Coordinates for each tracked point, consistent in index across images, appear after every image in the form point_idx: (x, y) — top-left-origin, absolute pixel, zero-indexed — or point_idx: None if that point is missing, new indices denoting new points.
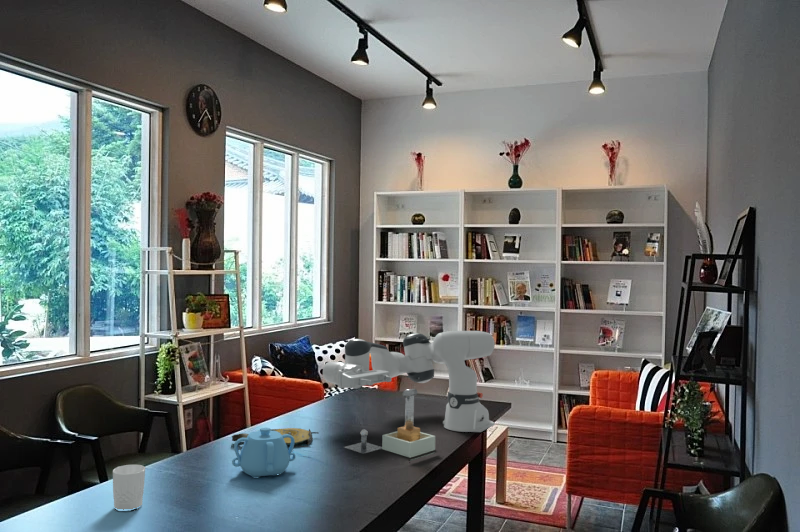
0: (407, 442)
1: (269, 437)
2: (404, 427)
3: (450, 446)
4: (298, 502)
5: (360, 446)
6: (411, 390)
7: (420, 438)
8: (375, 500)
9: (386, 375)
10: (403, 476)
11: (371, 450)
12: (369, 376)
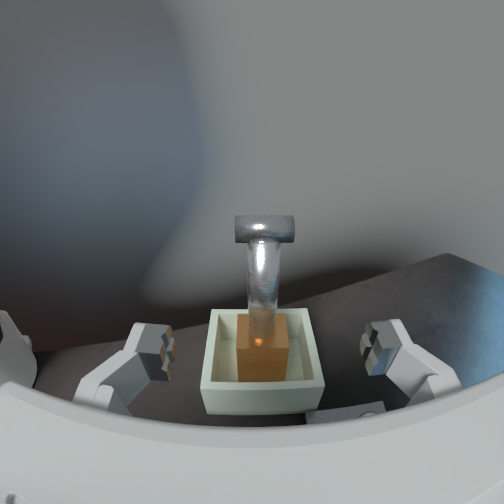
0: (308, 315)
1: None
2: (268, 339)
3: None
4: (498, 300)
5: None
6: (264, 215)
7: (216, 351)
8: (426, 272)
9: (101, 371)
10: (361, 299)
11: (350, 411)
12: (332, 422)
